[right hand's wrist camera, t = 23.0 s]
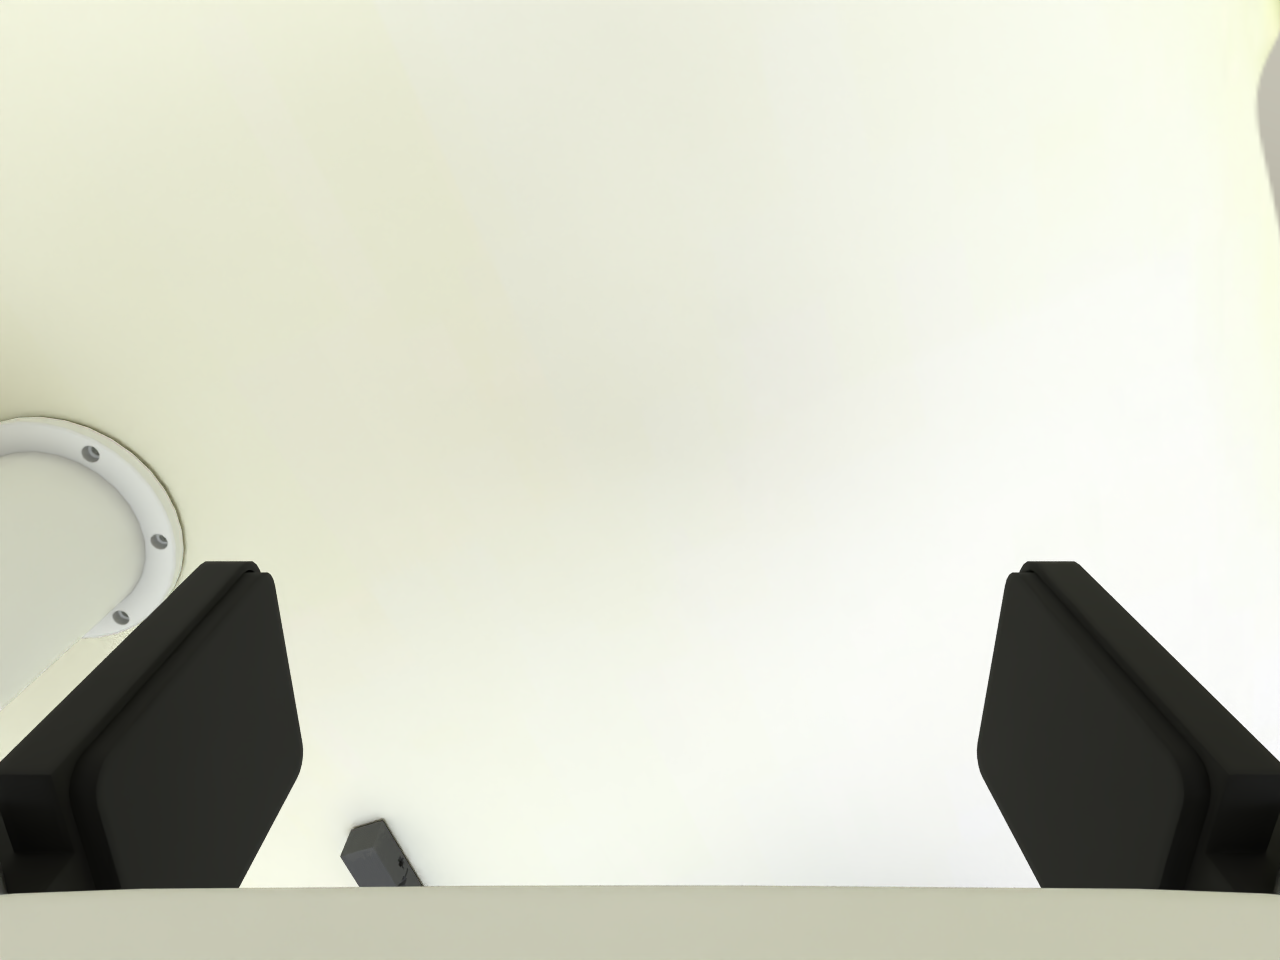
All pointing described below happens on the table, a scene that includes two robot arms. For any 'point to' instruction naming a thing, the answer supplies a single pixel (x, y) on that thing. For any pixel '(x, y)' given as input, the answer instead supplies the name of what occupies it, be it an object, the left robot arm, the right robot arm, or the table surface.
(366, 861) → the pillar
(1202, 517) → the table surface
